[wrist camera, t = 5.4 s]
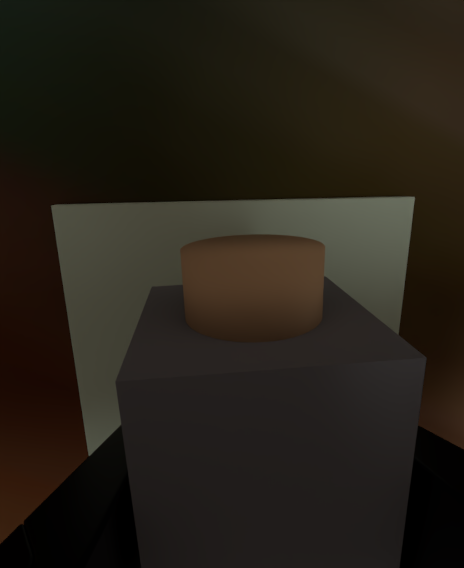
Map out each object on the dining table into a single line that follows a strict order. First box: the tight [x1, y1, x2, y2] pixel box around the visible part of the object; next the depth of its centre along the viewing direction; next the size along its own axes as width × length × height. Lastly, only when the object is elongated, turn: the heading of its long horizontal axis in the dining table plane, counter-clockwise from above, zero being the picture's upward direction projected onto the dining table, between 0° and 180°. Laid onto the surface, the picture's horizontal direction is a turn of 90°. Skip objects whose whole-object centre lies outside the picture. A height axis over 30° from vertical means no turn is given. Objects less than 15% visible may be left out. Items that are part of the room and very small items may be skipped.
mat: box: [51, 196, 415, 456], centre depth 11 cm, size 10×9×1 cm
